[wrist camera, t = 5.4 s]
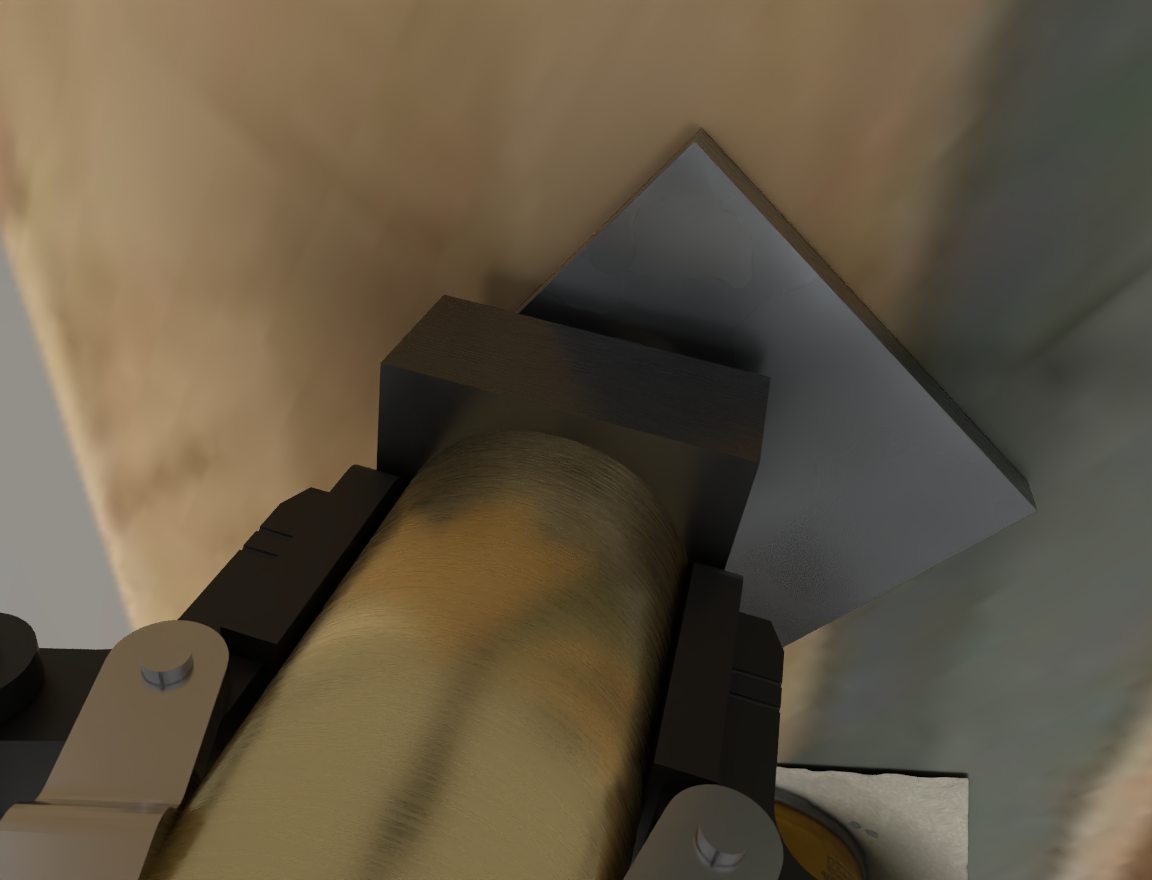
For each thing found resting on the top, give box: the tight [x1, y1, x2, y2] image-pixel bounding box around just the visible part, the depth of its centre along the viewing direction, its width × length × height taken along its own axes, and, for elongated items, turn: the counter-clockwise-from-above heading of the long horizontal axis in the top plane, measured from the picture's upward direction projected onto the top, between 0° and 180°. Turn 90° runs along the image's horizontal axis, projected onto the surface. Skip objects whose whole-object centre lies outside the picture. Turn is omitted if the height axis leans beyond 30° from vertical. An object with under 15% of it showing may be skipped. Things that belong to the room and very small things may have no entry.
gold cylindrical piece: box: [147, 295, 771, 880], centre depth 11 cm, size 5×5×10 cm
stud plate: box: [514, 129, 1037, 648], centre depth 16 cm, size 8×8×1 cm
